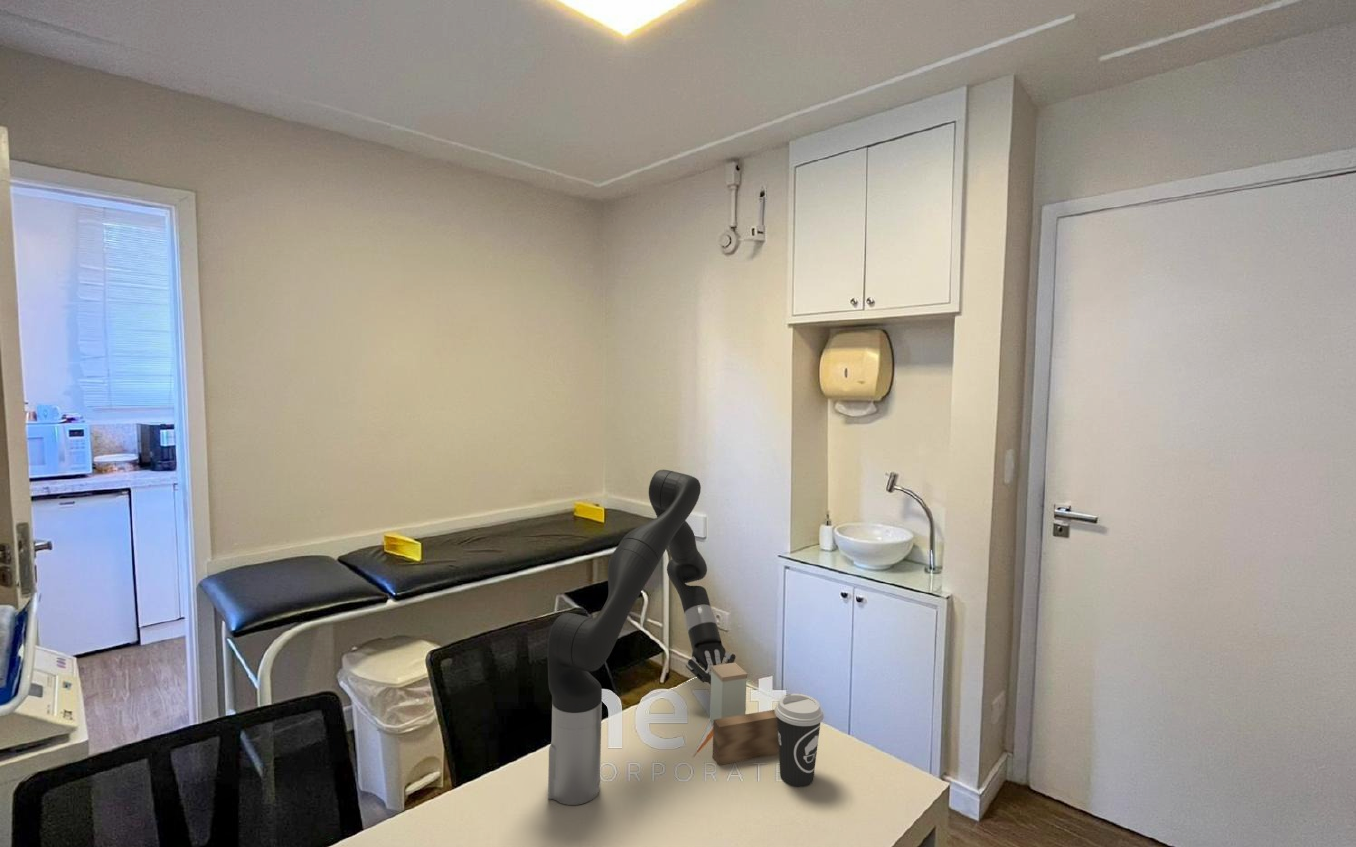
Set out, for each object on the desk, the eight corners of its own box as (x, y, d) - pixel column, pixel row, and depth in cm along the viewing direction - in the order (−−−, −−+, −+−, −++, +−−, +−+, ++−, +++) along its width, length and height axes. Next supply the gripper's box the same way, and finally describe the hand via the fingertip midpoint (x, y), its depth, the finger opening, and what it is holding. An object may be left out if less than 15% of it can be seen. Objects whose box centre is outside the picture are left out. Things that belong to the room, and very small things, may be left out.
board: (718, 765, 127) (719, 726, 127) (712, 757, 130) (713, 719, 130) (787, 751, 133) (788, 715, 133) (780, 744, 136) (781, 708, 135)
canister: (720, 734, 139) (722, 677, 138) (709, 721, 145) (710, 665, 144) (745, 730, 141) (747, 673, 140) (733, 716, 147) (735, 662, 146)
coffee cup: (813, 762, 129) (816, 691, 129) (827, 791, 120) (830, 715, 119) (767, 762, 129) (770, 691, 128) (778, 792, 119) (780, 715, 118)
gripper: (681, 623, 152) (698, 696, 141) (730, 618, 156) (751, 688, 146) (673, 636, 157) (689, 707, 146) (721, 631, 162) (740, 699, 151)
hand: (720, 698), depth 146 cm, fingers closed
